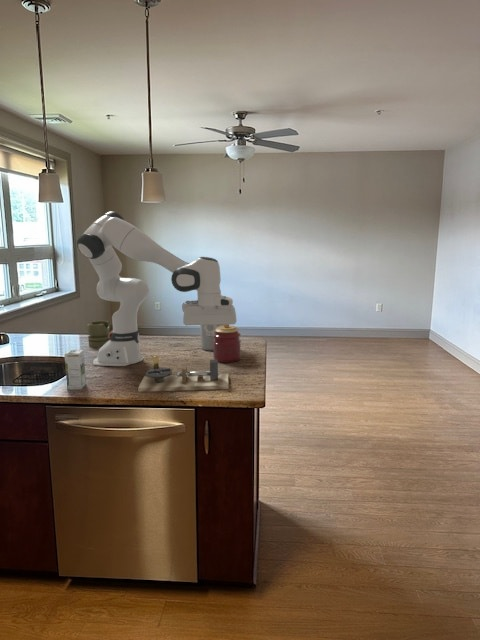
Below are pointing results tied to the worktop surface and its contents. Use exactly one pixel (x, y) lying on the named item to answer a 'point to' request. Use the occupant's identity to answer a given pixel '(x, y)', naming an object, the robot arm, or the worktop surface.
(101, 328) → the olive green mug
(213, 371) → the hammer
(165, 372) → the handwheel
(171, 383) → the board
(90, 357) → the worktop surface
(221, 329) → the canister
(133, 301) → the robot arm
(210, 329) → the cylinder vase
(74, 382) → the syrup box
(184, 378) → the eye post
